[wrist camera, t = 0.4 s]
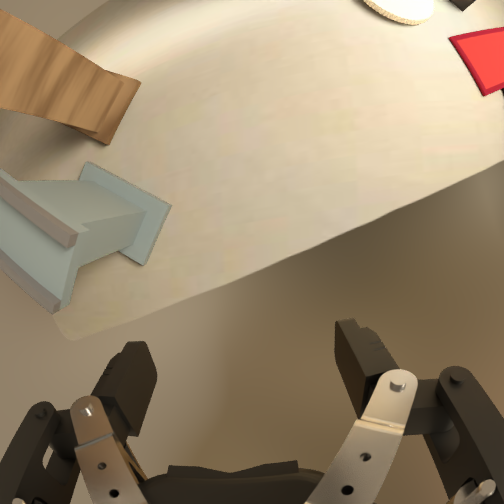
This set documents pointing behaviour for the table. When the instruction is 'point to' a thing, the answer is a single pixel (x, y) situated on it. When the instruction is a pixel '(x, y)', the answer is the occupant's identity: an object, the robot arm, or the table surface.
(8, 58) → the stand
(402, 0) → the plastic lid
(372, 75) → the table surface
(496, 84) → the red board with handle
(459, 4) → the mini dv tape
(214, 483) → the robot arm
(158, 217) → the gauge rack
